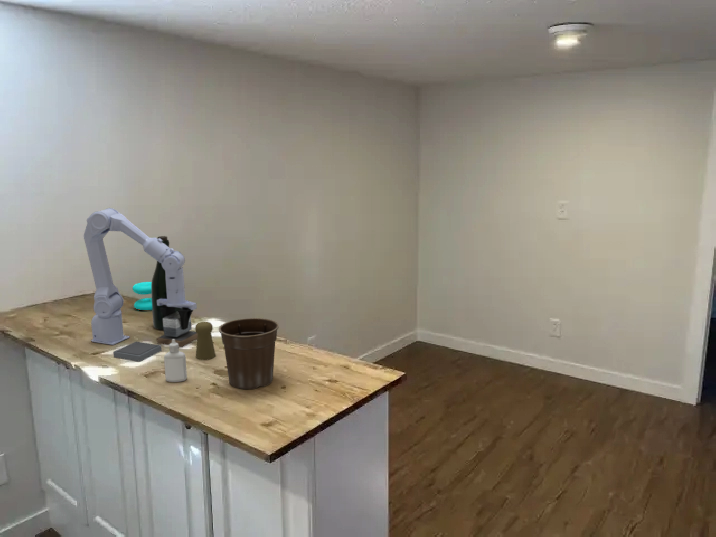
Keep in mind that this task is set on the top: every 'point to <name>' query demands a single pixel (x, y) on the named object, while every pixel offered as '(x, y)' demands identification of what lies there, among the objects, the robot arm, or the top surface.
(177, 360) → the eye dropper bottle
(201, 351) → the cork
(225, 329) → the plant pot
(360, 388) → the top surface
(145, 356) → the stand
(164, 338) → the stand
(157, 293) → the dark green wine bottle
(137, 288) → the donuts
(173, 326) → the block
